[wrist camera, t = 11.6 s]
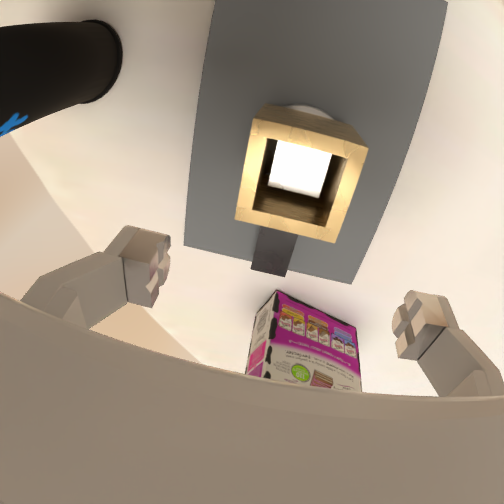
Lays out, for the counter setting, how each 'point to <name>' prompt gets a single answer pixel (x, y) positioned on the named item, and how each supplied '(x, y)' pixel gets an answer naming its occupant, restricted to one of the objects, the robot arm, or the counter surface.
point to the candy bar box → (303, 346)
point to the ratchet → (292, 179)
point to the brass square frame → (292, 203)
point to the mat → (315, 93)
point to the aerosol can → (54, 68)
